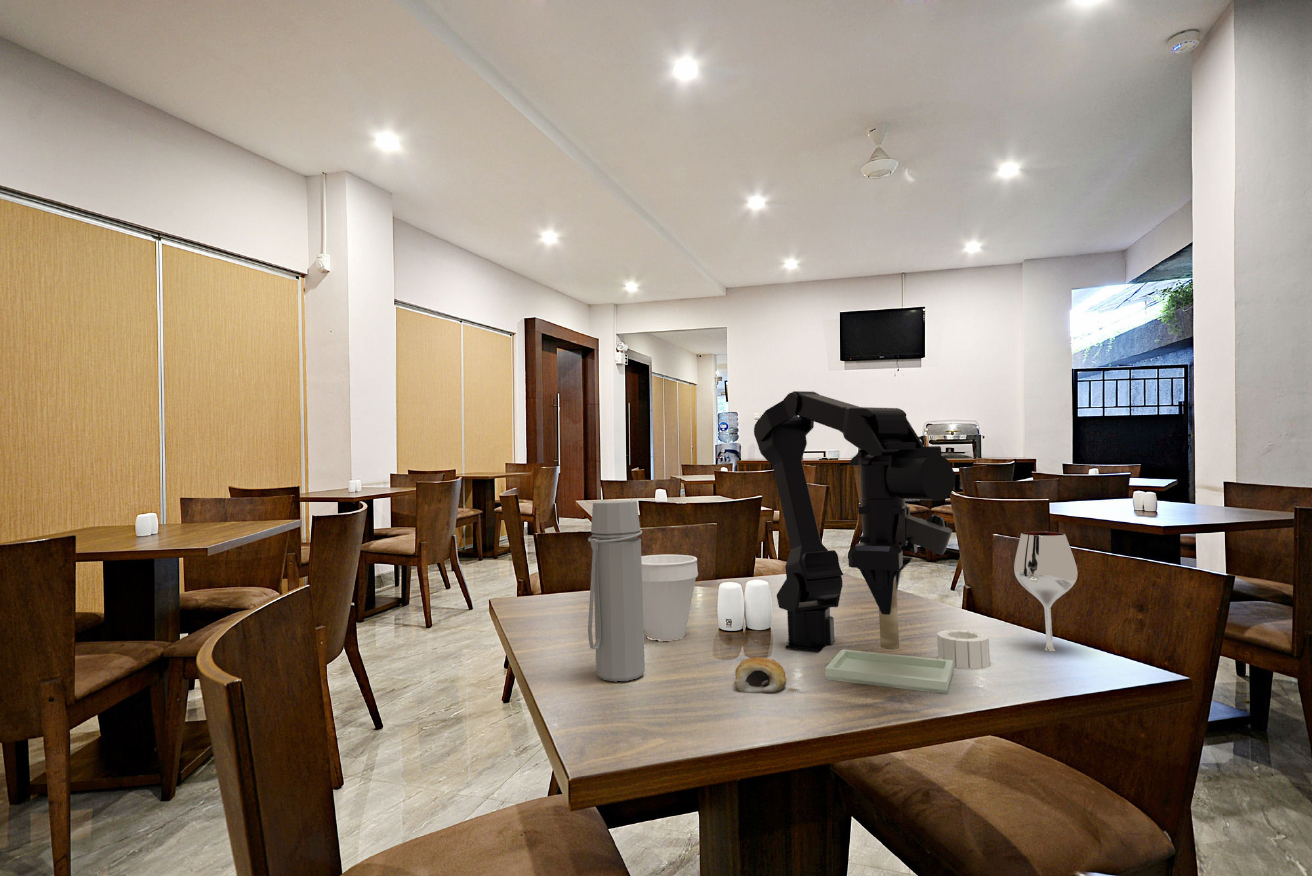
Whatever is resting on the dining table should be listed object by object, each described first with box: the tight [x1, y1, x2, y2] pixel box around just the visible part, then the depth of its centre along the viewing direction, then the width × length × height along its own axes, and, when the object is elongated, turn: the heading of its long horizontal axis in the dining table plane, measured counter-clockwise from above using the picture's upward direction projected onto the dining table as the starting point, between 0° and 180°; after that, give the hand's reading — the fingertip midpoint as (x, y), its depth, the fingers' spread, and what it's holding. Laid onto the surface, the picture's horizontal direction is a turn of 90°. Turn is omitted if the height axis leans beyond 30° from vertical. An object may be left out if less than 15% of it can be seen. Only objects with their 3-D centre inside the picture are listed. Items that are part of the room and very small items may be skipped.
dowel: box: [878, 578, 900, 650], centre depth 90 cm, size 2×2×11 cm
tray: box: [824, 648, 955, 695], centre depth 89 cm, size 15×10×2 cm, turn 62°
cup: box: [641, 554, 699, 640], centre depth 117 cm, size 12×12×14 cm
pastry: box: [734, 656, 787, 694], centre depth 90 cm, size 9×7×4 cm
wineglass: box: [1013, 531, 1079, 652], centre depth 98 cm, size 8×8×18 cm
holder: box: [936, 629, 991, 670], centre depth 94 cm, size 7×7×4 cm
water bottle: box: [587, 500, 646, 683], centre depth 95 cm, size 9×8×25 cm
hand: (887, 612), depth 90 cm, fingers closed on dowel, 2 cm apart
